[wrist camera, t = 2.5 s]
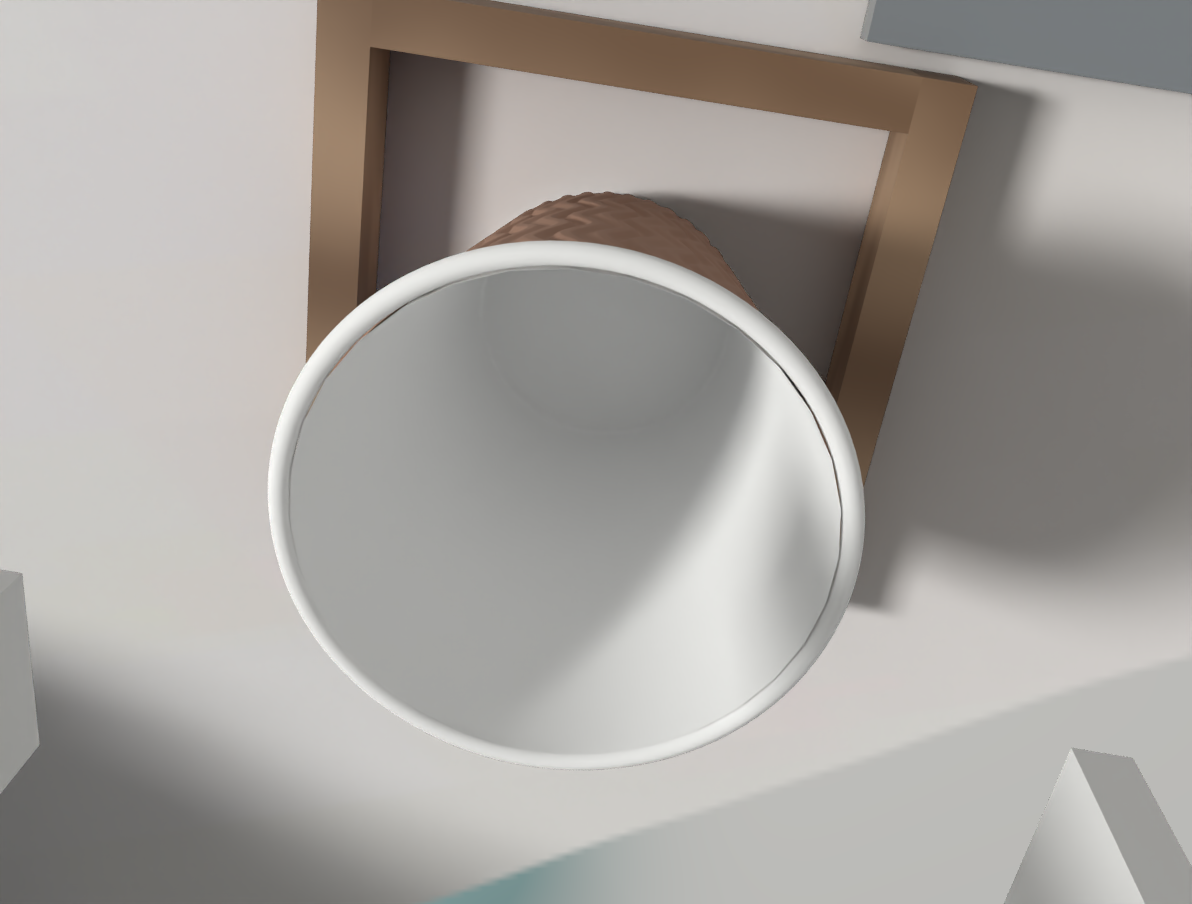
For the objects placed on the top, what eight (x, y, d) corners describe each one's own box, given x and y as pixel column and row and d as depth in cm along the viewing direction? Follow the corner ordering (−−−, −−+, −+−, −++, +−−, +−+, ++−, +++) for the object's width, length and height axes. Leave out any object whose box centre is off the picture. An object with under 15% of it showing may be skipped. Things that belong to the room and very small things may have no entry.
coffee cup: (377, 155, 28) (185, 290, 17) (779, 94, 27) (849, 199, 16) (459, 505, 32) (346, 792, 21) (810, 468, 31) (880, 754, 20)
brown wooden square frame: (813, 595, 33) (821, 633, 31) (321, 515, 33) (300, 548, 31) (957, 76, 26) (978, 86, 24) (343, -24, 26) (317, -21, 24)
